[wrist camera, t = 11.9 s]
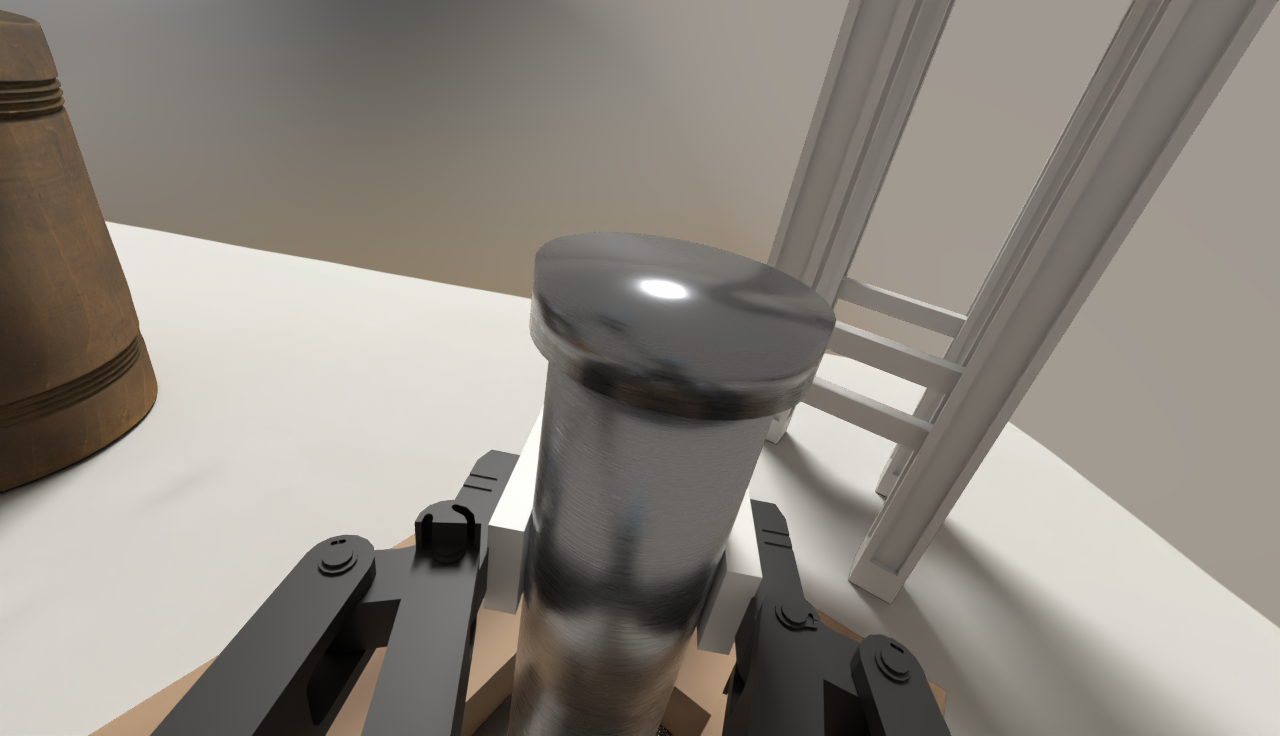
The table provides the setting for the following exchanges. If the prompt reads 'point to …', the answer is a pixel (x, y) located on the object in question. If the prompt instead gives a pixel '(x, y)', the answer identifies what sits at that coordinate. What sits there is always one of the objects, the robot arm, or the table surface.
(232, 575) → the table surface
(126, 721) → the keeper block
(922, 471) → the stool
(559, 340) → the link pin
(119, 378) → the wooden container
